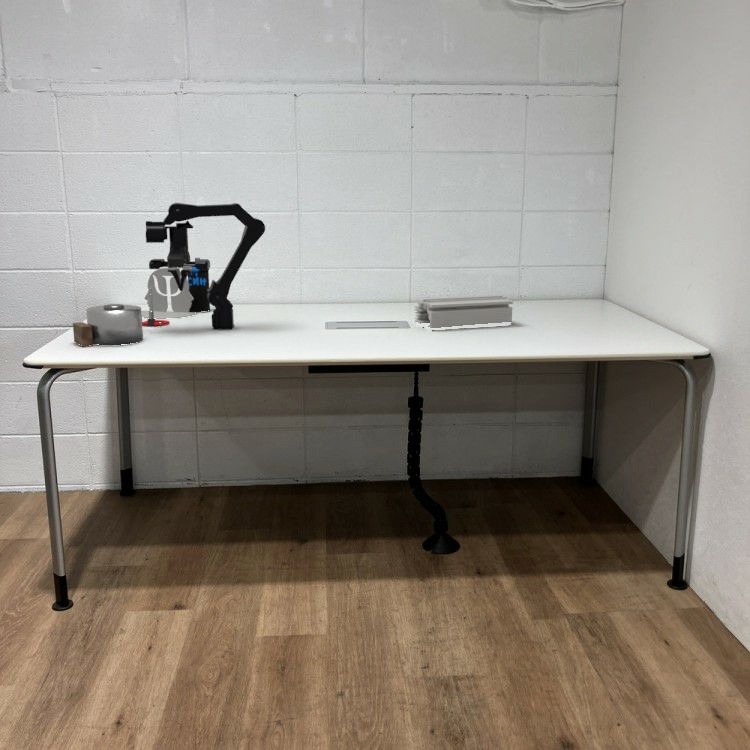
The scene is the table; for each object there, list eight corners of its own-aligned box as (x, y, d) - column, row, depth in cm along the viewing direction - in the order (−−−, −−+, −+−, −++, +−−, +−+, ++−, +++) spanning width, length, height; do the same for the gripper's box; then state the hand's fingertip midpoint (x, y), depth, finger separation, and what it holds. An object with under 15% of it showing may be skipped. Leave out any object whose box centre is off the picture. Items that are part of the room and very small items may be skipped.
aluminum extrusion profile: (414, 324, 279) (414, 296, 277) (491, 320, 290) (493, 293, 287) (430, 332, 266) (431, 302, 264) (511, 327, 277) (513, 298, 274)
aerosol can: (193, 308, 306) (190, 256, 301) (213, 309, 305) (211, 256, 300) (185, 312, 298) (182, 258, 293) (206, 313, 297) (204, 259, 292)
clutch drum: (148, 335, 255) (146, 301, 252) (136, 346, 239) (134, 309, 236) (97, 335, 254) (94, 301, 251) (82, 346, 238) (79, 309, 235)
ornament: (198, 314, 295) (196, 268, 291) (185, 320, 282) (183, 273, 278) (141, 312, 298) (139, 267, 294) (126, 318, 285) (123, 271, 281)
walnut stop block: (84, 341, 244) (82, 322, 243) (93, 345, 238) (91, 326, 237) (74, 342, 243) (72, 323, 241) (82, 347, 236) (81, 327, 235)
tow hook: (150, 322, 279) (138, 326, 270) (149, 285, 276) (137, 288, 267) (173, 323, 278) (162, 327, 269) (172, 286, 275) (161, 289, 266)
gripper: (143, 244, 249) (146, 294, 253) (203, 244, 250) (205, 294, 254) (151, 241, 260) (154, 289, 264) (209, 242, 261) (211, 289, 265)
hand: (181, 290), depth 261 cm, fingers closed
